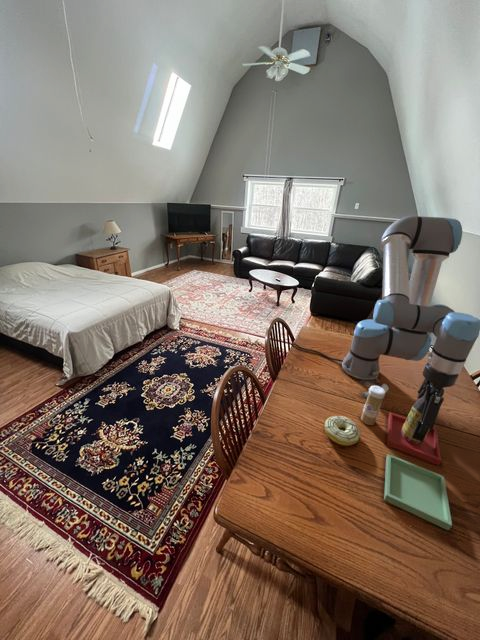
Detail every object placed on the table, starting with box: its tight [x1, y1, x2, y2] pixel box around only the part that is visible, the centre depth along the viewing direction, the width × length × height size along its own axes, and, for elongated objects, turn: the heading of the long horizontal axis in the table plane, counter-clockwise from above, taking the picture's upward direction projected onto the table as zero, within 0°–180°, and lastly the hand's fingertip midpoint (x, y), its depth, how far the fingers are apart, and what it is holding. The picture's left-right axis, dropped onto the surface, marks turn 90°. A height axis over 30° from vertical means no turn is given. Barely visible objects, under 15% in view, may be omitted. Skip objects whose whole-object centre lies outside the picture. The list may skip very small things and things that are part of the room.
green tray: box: [383, 453, 453, 531], centre depth 70 cm, size 14×14×2 cm
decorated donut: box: [323, 415, 361, 447], centre depth 85 cm, size 10×11×4 cm
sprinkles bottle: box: [360, 385, 386, 426], centre depth 89 cm, size 5×5×14 cm
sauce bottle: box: [401, 392, 445, 444], centre depth 81 cm, size 6×6×20 cm
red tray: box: [386, 412, 442, 466], centre depth 85 cm, size 14×14×2 cm
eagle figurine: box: [359, 377, 390, 400], centre depth 103 cm, size 8×7×9 cm
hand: (416, 427), depth 83 cm, fingers open, 10 cm apart
